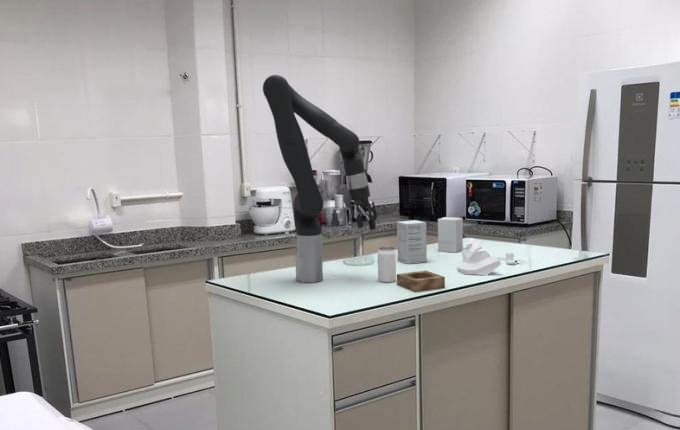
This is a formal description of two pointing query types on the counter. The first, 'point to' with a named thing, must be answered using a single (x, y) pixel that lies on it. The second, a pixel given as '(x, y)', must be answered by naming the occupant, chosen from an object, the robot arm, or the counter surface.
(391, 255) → the can
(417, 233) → the supplement box
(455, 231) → the supplement box
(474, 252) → the white faceted sculpture
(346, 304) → the counter surface
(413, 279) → the brown open box
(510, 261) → the teacup and saucer
